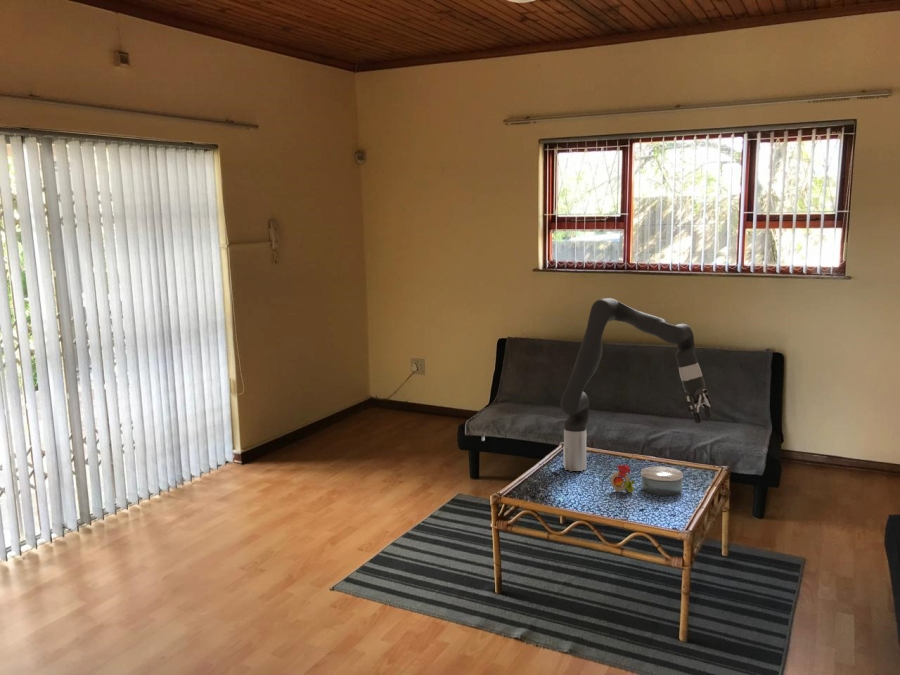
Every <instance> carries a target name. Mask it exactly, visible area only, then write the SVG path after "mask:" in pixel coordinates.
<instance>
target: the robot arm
mask: <svg viewBox="0 0 900 675" xmlns="http://www.w3.org/2000/svg"><path fill="white" fill-rule="evenodd" d="M612 321H617V322H623V323H626V324H628V325H631V326H633V327H634V328H635V329H637V330H639V331H640V332H643V333H645V334H648V335H652V336H654V337H658V338H659V339H661V340H662V341H664V342H666V343H669V344H672V345H677V351H676V353H675V361H676V363H677V366H678V370H679V377H680V379H681V383H682V387H683V390H684V392H685V393H688V395H687V396H685V397H684V400H685V403H686V404H685V405H686V408H687V412H688V413H689V414H692V415H693V420H694V422H695V424H701V423H702V421H703V420H702V417H701V414H700V407H702V408H703V413H704V416H705V418H706V419H710V418H712V417H713V415H712V411H711V405H712V404H713V401H712V399H711V394H710V393H709V389H708V388H706V384H705V383H706V382H705V379H704V377H703V373H702V369H701V367H700V364H699V361H698V358H697V355H696V352H695V337H694V332H693V330H692V328H691V326H689V325H688V324H686V323H678V324H671V323H668V321H667V320H666V319H664V318H662V317H658V316H656V315H653V314H649V313H646V312H644V311H639V310H637V309H635V308H632V307H630V306H628V305H626V304H625V303H623V302H621V301H619V300H616V299H614V298H611V297H604V298H600V299H597V300H595V301H594V302H593V304H592V306H591V308H590V312H589V316H588V320H587V324H586V330H585V332H584V335H583V337H582V342H581V345H580V348H579V350H578V353H577V356H576V359H575V362H574V365H573V368H572V371H571V374H570V377H569V380H568V383H567V385H566V387H565V389H564V392H563V394H562V395H561V397H560V398H561V399H560V405H559V406H560V409H561V411H562V412H563V413H564V414H565V415H568V416H567V418H566V420H565V421H564V423H563V445H562V446H563V449H562V450H563V451H562V454H563V455H562V456H563V457H562V458H563V461H562V462H563V466H564V467H563V466H562V467H563V469H564V468H565V469H564V471H565V470H569V471H568V472H572V471H581V472H584V471H586V470H587V427H588V423H589V416H590V415H589V413H590V401H589V398H588V395H587V393H586V392H584V390H585V387H586V386H587V384H588V383H589V381H590V380H591V379H592V377H593V376H594V374H596V372H597V371H598V368H599V365H600V362H601V361H602V360H601V359H602V356H603V341H602V339H603V334H604V331H605V328H606V326H607V324H608V322H612ZM583 470H584V471H583Z"/></svg>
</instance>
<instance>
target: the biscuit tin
mask: <svg viewBox="0 0 900 675" xmlns="http://www.w3.org/2000/svg"><path fill="white" fill-rule="evenodd" d="M640 474H641V485H640V486H641V491H642V492H643V491H644V492H643V493H644V494H646V495H649V494H651V495H650V496H653V495H655V496H654V497H659V496H661V498H671V497H673V498H674V497H678V496H680V495H681V494H682V493H683V477H684V473H683V472H682V470H679V469H677V468H674V467H668V466H661V465H659V466H648V467H643V468H642V469H641V471H640Z"/></svg>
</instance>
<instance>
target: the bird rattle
mask: <svg viewBox="0 0 900 675" xmlns="http://www.w3.org/2000/svg"><path fill="white" fill-rule="evenodd" d="M616 467H617V469H618V471H615V472H614V473H613V474H612V475H611V477H610V479H609V480H610V481H609V482H610V485H611V487H612V488H613V489H614V491H615V492H616V491H617V492H619V491H620V492H621V491H626V490H627V492H628V493H629V492H631V493H632V492H634V491H635V488H634V487H633V485H634V484H635V482H636V481H635V480H630V477H629V475H628V474H629V473H630V472H631V468H630V466H629V465H628V464H627V465H626V464H622V465H621V464H618V465H617V466H616ZM625 489H626V490H625Z"/></svg>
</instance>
